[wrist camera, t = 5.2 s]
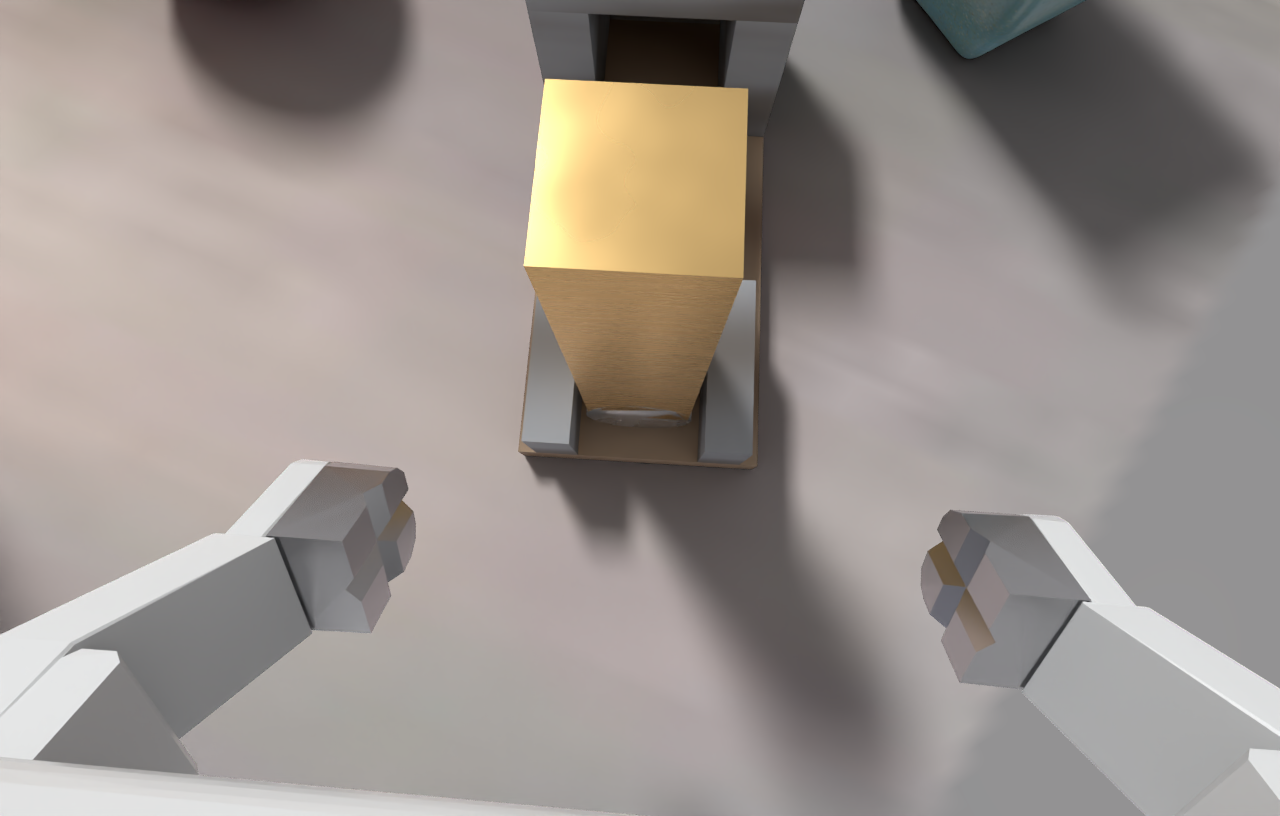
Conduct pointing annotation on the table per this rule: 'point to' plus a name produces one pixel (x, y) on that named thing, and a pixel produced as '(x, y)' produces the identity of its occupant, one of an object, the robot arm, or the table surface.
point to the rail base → (751, 59)
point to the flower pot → (990, 20)
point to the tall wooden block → (638, 238)
